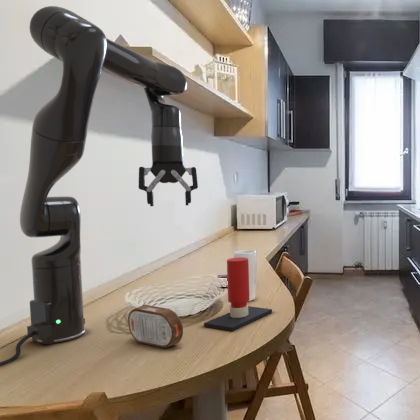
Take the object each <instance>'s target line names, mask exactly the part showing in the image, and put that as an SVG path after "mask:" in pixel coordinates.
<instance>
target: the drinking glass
mask: <svg viewBox="0 0 420 420" xmlns="http://www.w3.org/2000/svg"><path fill="white" fill-rule="evenodd" d="M257 255H258V253H257V250H255V249H242V250H241V249H240V250H236V251H234V252H233V258H248V265H249V301H248V302H251V301H254V300H255V299H256V285H257V269H258V268H257V267H258V257H257Z"/></svg>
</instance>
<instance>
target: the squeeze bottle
mask: <svg viewBox="0 0 420 420" xmlns="http://www.w3.org/2000/svg"><path fill="white" fill-rule="evenodd" d="M226 275H227V281H228V287H227V303H230V306H229V313H230V316H231V317H233V318H241V317H245V316H247V315H248V306H249V305H248V302H250V301H249V265H248V258H234V257H231V258H228V259H226Z"/></svg>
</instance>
